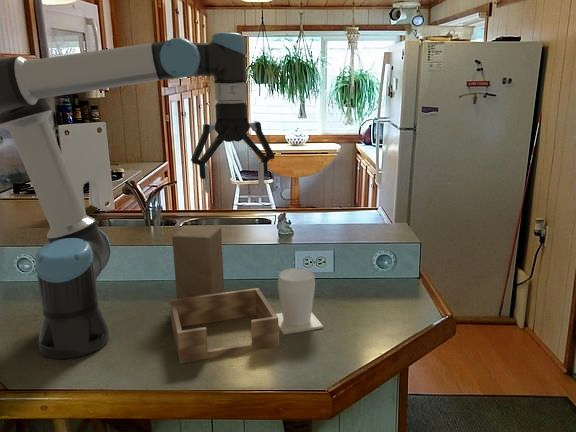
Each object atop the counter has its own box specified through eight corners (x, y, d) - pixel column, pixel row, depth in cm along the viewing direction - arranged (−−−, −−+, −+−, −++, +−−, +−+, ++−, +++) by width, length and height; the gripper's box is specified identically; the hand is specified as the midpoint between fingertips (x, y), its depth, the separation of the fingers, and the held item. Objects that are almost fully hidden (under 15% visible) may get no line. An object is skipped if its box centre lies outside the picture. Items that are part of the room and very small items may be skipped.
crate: (180, 363, 112) (177, 333, 110) (172, 326, 128) (169, 299, 126) (279, 346, 118) (278, 317, 116) (259, 313, 134) (258, 287, 133)
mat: (283, 334, 123) (283, 332, 123) (271, 316, 132) (271, 314, 132) (322, 328, 126) (322, 325, 126) (308, 310, 135) (308, 308, 135)
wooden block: (212, 311, 136) (208, 237, 131) (176, 308, 138) (171, 235, 133) (225, 295, 146) (221, 226, 140) (191, 293, 147) (186, 225, 142)
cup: (290, 309, 135) (289, 265, 132) (321, 317, 130) (321, 271, 127) (271, 323, 127) (270, 277, 124) (303, 332, 123) (303, 284, 120)
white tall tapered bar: (102, 204, 252) (93, 120, 242) (114, 209, 242) (105, 122, 231) (59, 211, 239) (48, 123, 229) (70, 217, 229) (59, 125, 219)
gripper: (179, 104, 117) (185, 196, 123) (286, 101, 124) (287, 188, 130) (176, 102, 124) (182, 190, 129) (277, 99, 131) (278, 183, 137)
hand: (234, 189), depth 130 cm, fingers open, 13 cm apart
